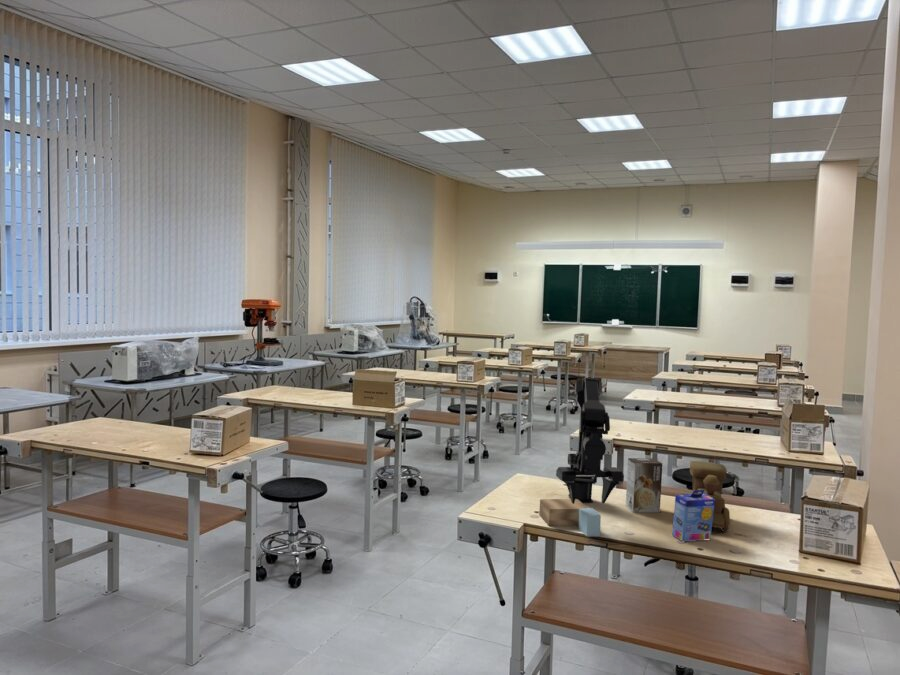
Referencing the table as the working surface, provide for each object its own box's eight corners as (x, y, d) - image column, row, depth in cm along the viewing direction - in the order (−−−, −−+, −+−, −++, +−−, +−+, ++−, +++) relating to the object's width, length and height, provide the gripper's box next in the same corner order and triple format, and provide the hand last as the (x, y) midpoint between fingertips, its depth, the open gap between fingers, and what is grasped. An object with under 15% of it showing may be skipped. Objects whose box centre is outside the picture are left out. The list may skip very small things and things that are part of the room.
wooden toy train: (684, 509, 202) (687, 459, 201) (721, 514, 199) (725, 463, 198) (688, 530, 183) (692, 475, 182) (730, 536, 180) (735, 480, 179)
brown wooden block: (576, 514, 192) (577, 498, 191) (587, 525, 183) (588, 508, 183) (539, 515, 190) (540, 499, 189) (548, 526, 181) (549, 509, 181)
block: (592, 507, 180) (600, 515, 174) (591, 528, 181) (600, 536, 175) (579, 508, 180) (587, 515, 174) (578, 528, 180) (586, 536, 174)
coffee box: (651, 506, 204) (655, 458, 203) (660, 513, 197) (663, 463, 197) (624, 506, 203) (628, 457, 202) (632, 512, 196) (635, 462, 196)
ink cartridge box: (683, 543, 173) (687, 491, 172) (670, 535, 178) (674, 485, 177) (712, 540, 176) (716, 490, 175) (699, 533, 181) (703, 484, 180)
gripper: (610, 444, 189) (606, 494, 190) (551, 443, 186) (548, 494, 187) (626, 453, 178) (622, 506, 179) (564, 452, 175) (561, 507, 176)
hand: (588, 503), depth 181 cm, fingers open, 9 cm apart
